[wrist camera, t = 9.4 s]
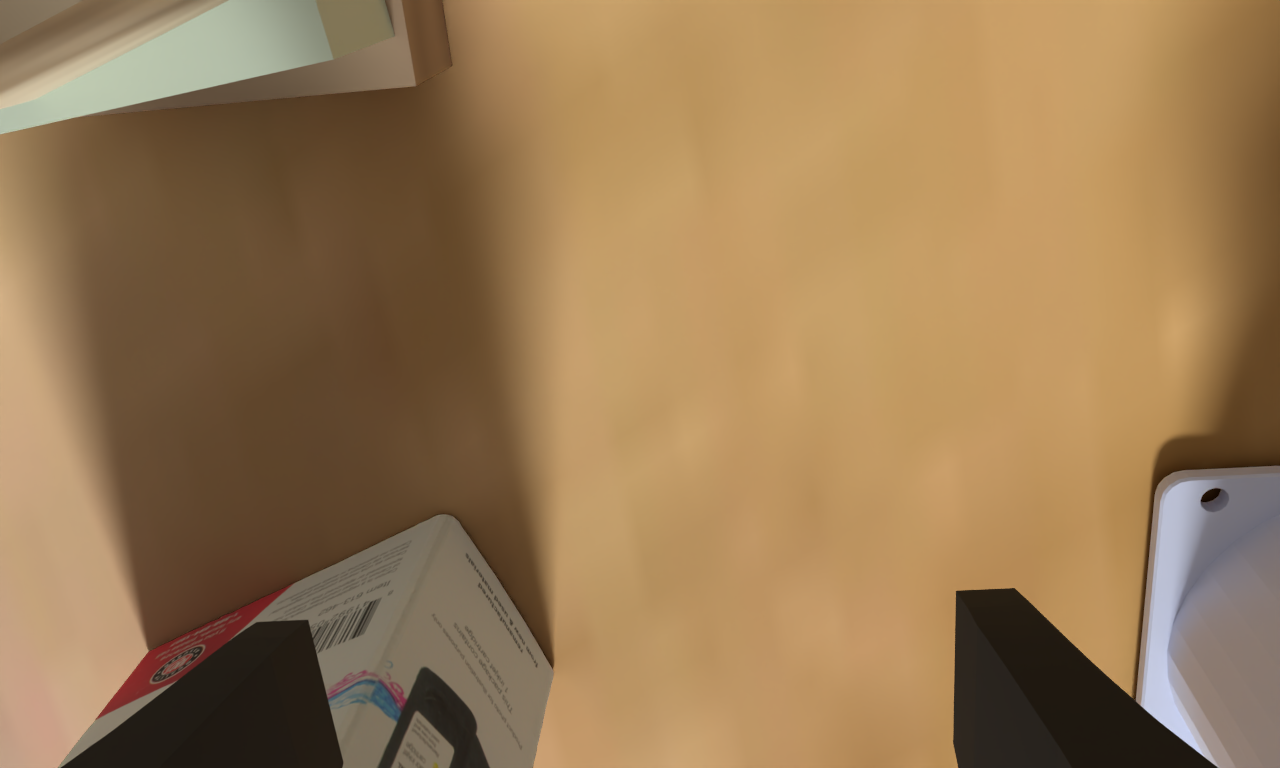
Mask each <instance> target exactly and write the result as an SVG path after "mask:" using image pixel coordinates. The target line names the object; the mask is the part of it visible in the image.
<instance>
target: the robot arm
mask: <svg viewBox="0 0 1280 768" xmlns="http://www.w3.org/2000/svg"><path fill="white" fill-rule="evenodd" d="M1214 488H1220V489H1221V491H1220V493H1219V496H1218V497H1216V498H1215V499H1214V500H1213V501H1209V502H1200V500H1201V498H1202V495H1203V494H1204V493H1205V492H1207V491H1208V490H1210V489H1214ZM953 744H954V748H955V753H956V758H957V763H958V768H1280V466H1261V467H1240V468H1219V469H1199V470H1182V471H1178V472H1173V473H1171V474H1170V475H1168V476H1166V477H1165V478H1163V480H1162V481H1161V482H1160V483H1159V484H1158V486H1157V489H1156V492H1155V498H1154V509H1153V520H1152V531H1151V542H1150V552H1149V563H1148V574H1147V585H1146V596H1145V606H1144V617H1143V628H1142V639H1141V650H1140V660H1139V671H1138V682H1137V693H1136V701H1135V700H1134V699H1133V698H1131V697H1130V696H1129V695H1128V694H1127V693H1126V692H1125V691H1123V690H1122V689H1121V688H1120V687H1119V686H1118V685H1117V684H1115V683H1114V682H1113V681H1112V680H1111V679H1110V678H1109V677H1108V676H1106V675H1105V674H1104V673H1103V672H1102V671H1101V670H1100V669H1099V668H1098V667H1097V666H1096V665H1094V664H1093V663H1092V662H1091V661H1090V660H1089V659H1088V658H1087V657H1086V656H1085V655H1084V654H1083V653H1082V652H1081V651H1080V650H1079V649H1078V648H1076V647H1075V646H1074V645H1073V644H1072V643H1071V642H1070V641H1069V640H1068V639H1067V638H1066V637H1065V636H1064V635H1063V634H1062V633H1061V632H1060V631H1059V630H1058V629H1057V628H1056V627H1055V626H1054V625H1053V624H1051V623H1050V622H1049V621H1048V620H1047V619H1046V618H1045V617H1044V616H1043V615H1042V614H1041V613H1040V612H1039V611H1038V610H1037V609H1036V608H1035V607H1034V606H1033V605H1032V604H1031V603H1030V602H1029V601H1028V600H1027V599H1026V598H1024V597H1023V596H1022V595H1021V594H1020V593H1019V592H1018V591H1017V590H1016V589H1015V588H1010V589H988V590H965V591H956V628H955V682H954V737H953ZM343 763H344V762H343V758H342V754H341V750H340V746H339V742H338V738H337V734H336V730H335V726H334V722H333V718H332V714H331V710H330V706H329V702H328V698H327V694H326V689H325V685H324V681H323V677H322V673H321V669H320V665H319V661H318V657H317V653H316V649H315V645H314V641H313V637H312V633H311V629H310V625H309V621H308V620H289V621H266V622H256V623H254V624H253V625H251V626H250V627H248V628H247V629H245V630H244V631H242V632H241V633H239V634H238V635H237V636H235V637H234V638H232V639H231V640H230V641H228V642H227V643H226V644H224V645H223V646H222V647H220V648H219V649H218V650H216V651H215V652H214V653H212V654H211V655H210V656H208V657H207V658H206V659H205V660H203V661H202V662H201V663H199V664H198V665H197V666H196V667H194V668H193V669H192V670H190V671H189V672H188V673H187V674H185V675H184V676H183V677H181V678H180V679H179V680H178V681H176V682H175V683H174V684H172V685H171V686H170V687H169V688H167V689H166V690H165V691H163V692H162V693H161V694H159V695H158V696H157V697H155V698H154V699H153V700H152V701H150V702H149V703H148V704H146V705H145V706H144V707H142V708H141V709H140V710H139V711H137V712H136V713H135V714H133V715H132V716H131V717H129V718H128V719H127V720H126V721H124V722H123V723H122V724H120V725H119V726H118V727H116V728H115V729H114V730H112V731H111V732H110V733H108V734H107V735H106V736H104V737H103V738H101V739H100V740H99V741H97V742H96V743H94V744H93V745H92V746H90V747H89V748H87V749H86V750H85V751H83V752H82V753H80V754H79V755H78V756H76V757H75V758H73V759H72V760H71V761H69V762H68V763H66V764H65V765H64V766H62V767H61V768H342V767H343Z"/></svg>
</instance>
